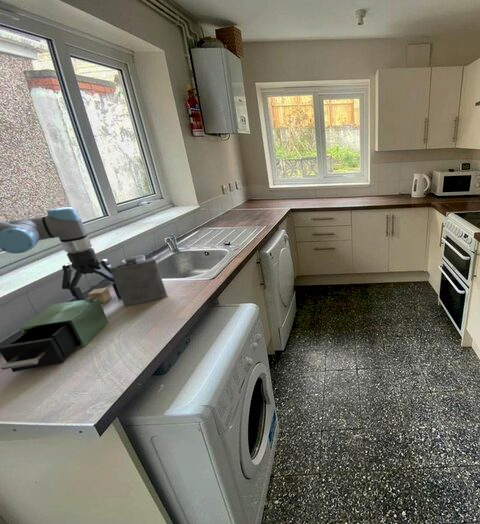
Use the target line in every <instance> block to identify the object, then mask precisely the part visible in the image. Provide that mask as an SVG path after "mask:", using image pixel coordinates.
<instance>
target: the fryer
mask: <svg viewBox="0 0 480 524" xmlns="http://www.w3.org/2000/svg"><path fill="white" fill-rule="evenodd" d="M65 323H70V325H71V327H72V329H73V331H74V333H75V335H76V337H77V339H78V341H79V342H80V343H79V344H78V345H77V346H76V347H75V348H74V349H73V350H75V349H80V348H85V347H86V346H88V344H89V343H90V342H91V341H92V340H93V339H95V337H96V336H97V335H98V334H99V333H100V332H101V331H102V330H104V328H105V327H106V326H107V325H108V324H109V320H108V317H107V315H106V313H105V310H104V308H103V306H102V303H100V302H99V299H98V298H94V299H90V298H88V299H85V300H80V301H77V300H73V301H65V302H59V303H53V304H52V305H50V306H49V307H47V308H46V309H44V310H43V311H42V312H40V313H38V314H37V315H36V316H34V317H33V318H32V319H31V320H29V321H27V322H25V323H24V324H23V325H22V326H20V327H19V330H20V331H21V334H23V333H24V332H25V331H27V330H28V329H32V328H38V327H45V326H51V325H58V324H65Z"/></svg>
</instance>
